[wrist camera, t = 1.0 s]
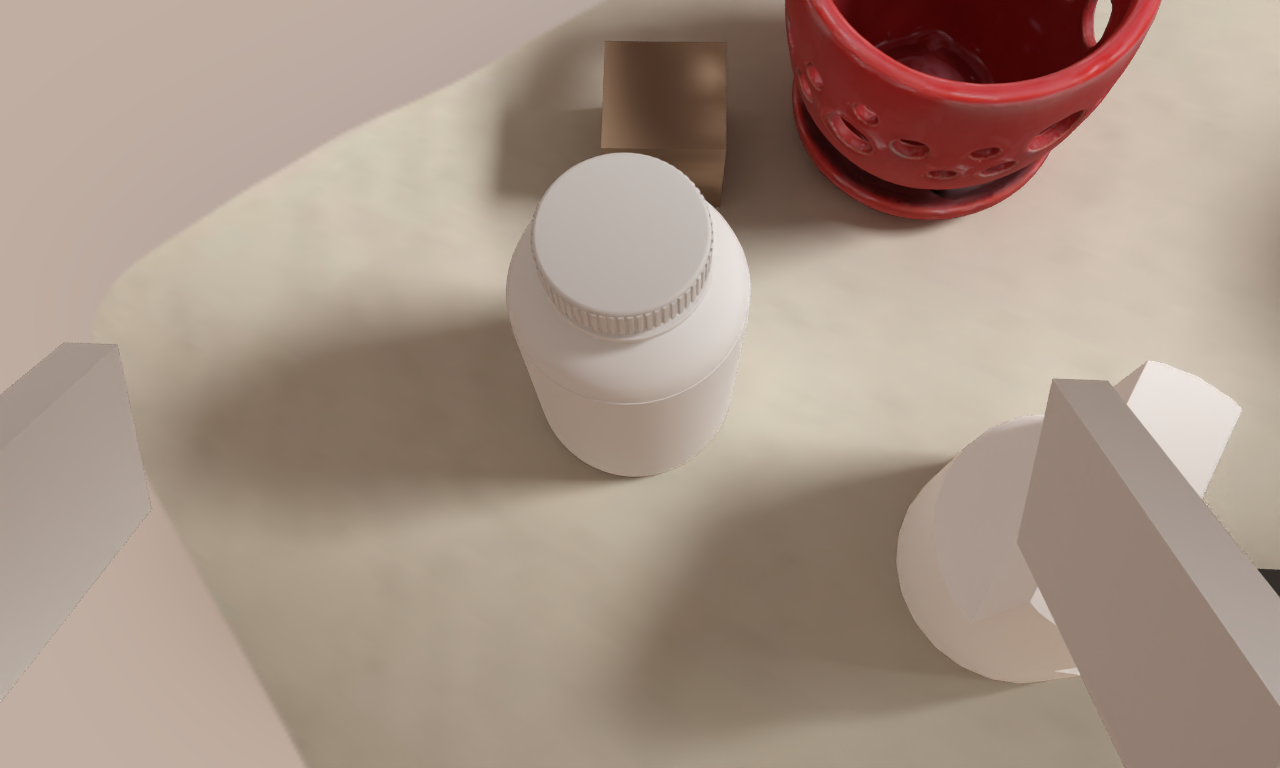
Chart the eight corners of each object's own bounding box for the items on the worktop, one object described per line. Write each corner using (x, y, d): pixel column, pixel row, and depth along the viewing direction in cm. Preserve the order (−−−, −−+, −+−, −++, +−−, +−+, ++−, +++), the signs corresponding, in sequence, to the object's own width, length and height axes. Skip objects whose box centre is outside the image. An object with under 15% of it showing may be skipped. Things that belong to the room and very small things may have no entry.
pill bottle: (501, 374, 46) (432, 209, 31) (652, 266, 47) (650, 61, 33) (616, 522, 44) (598, 417, 29) (770, 404, 45) (823, 249, 31)
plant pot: (876, -49, 52) (938, -269, 41) (1111, 104, 49) (1247, -86, 38) (703, 136, 49) (718, -45, 38) (943, 310, 46) (1038, 170, 35)
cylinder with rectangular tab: (1068, 729, 41) (1227, 726, 30) (856, 605, 43) (929, 556, 31) (1162, 526, 43) (1343, 451, 32) (957, 415, 45) (1060, 305, 34)
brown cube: (719, 109, 50) (726, 42, 45) (719, 207, 48) (726, 149, 43) (610, 107, 50) (605, 41, 45) (606, 206, 48) (601, 148, 43)
